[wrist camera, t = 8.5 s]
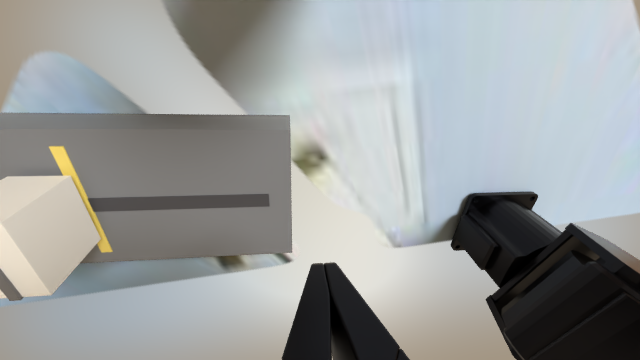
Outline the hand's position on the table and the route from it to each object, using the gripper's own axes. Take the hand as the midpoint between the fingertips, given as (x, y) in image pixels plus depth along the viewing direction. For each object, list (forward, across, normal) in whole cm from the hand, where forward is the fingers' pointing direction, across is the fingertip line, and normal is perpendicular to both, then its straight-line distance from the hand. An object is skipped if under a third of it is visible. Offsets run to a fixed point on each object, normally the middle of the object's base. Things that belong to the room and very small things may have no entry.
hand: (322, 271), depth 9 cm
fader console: (+12, +10, +3) cm, 16 cm away
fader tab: (+9, +15, +3) cm, 18 cm away
